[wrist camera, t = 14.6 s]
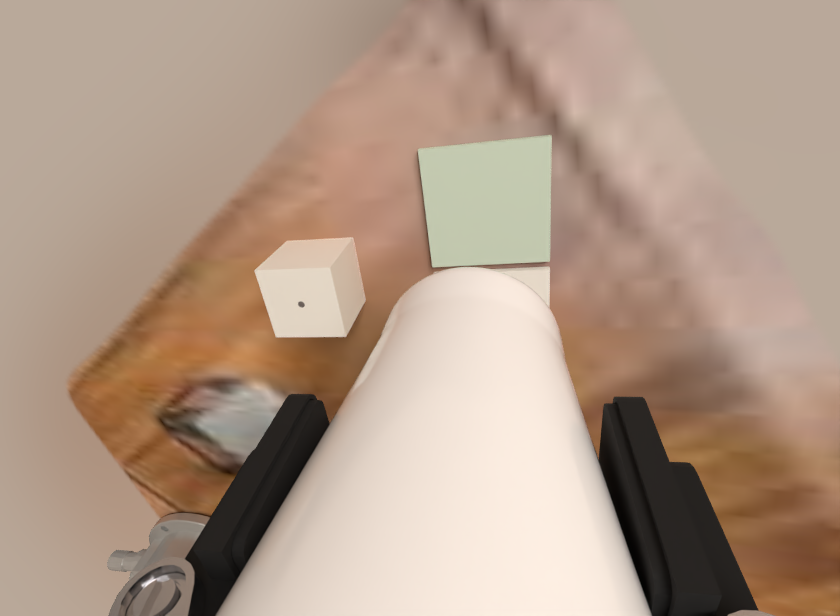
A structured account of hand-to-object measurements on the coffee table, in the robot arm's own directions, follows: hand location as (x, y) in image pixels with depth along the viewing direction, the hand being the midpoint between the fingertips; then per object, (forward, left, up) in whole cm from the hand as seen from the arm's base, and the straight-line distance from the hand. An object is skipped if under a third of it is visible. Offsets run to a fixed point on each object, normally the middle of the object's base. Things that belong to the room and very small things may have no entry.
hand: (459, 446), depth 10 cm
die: (-11, -4, -18) cm, 21 cm away
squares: (0, -4, -18) cm, 19 cm away
